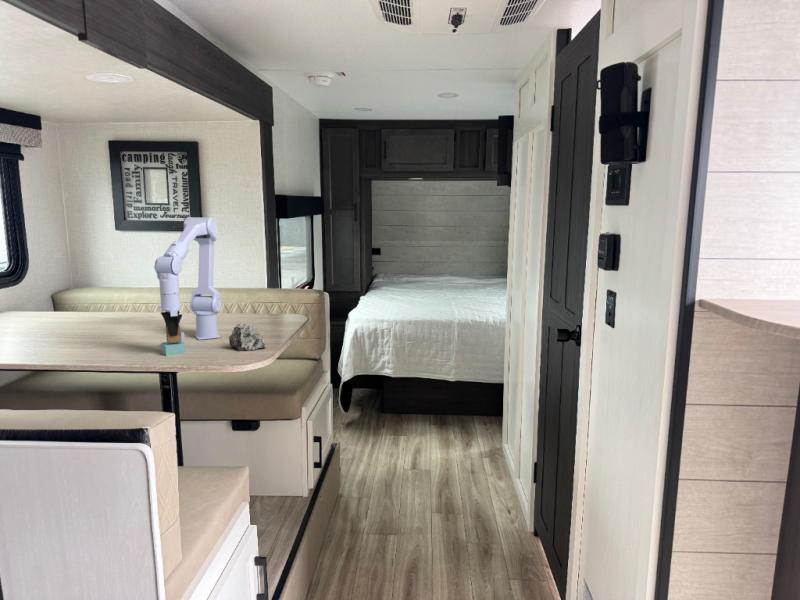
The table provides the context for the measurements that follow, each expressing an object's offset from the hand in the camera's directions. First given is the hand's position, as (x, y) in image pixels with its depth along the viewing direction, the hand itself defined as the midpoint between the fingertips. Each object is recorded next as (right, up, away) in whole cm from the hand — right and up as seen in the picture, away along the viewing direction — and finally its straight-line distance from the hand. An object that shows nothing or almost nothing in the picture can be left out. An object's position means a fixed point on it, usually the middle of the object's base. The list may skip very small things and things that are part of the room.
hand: (172, 334), depth 174 cm
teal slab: (0, -6, +1) cm, 6 cm away
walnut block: (0, -2, +1) cm, 2 cm away
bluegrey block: (-2, -5, +9) cm, 10 cm away
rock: (+23, -5, +8) cm, 25 cm away
